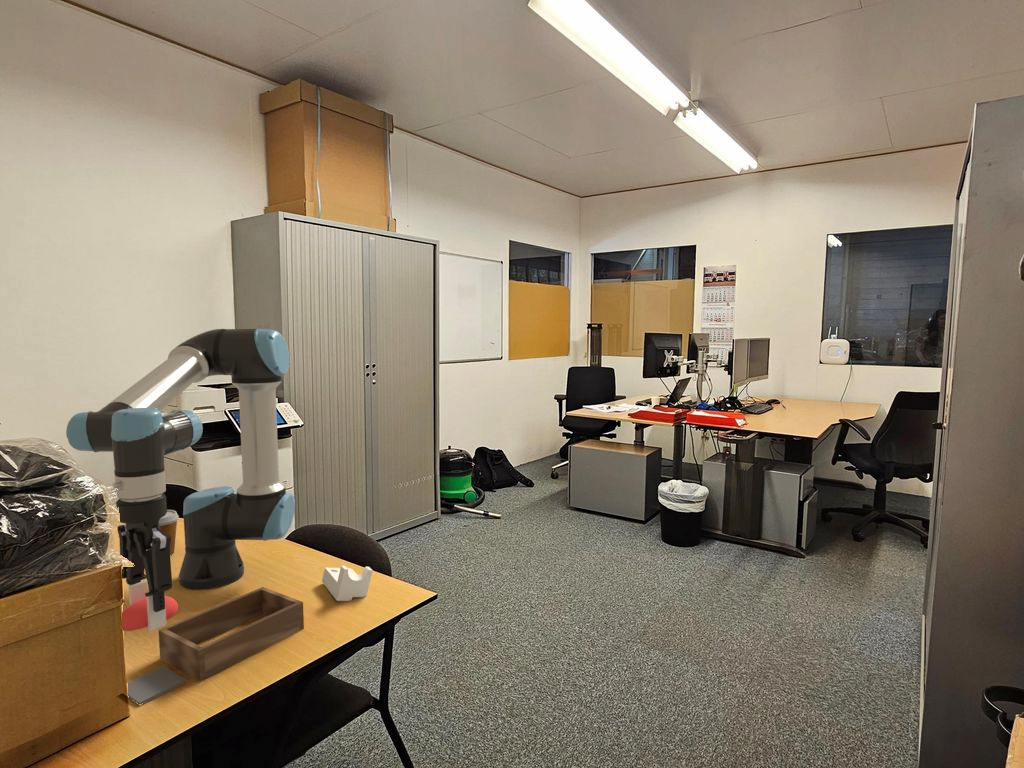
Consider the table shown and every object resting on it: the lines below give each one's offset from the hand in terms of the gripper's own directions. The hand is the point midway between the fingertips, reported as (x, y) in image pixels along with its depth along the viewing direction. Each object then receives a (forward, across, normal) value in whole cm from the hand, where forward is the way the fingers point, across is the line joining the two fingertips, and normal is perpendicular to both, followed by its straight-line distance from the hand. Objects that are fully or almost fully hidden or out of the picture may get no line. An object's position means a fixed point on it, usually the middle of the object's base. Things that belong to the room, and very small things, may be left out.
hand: (148, 622), depth 106 cm
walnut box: (+12, -1, +17) cm, 21 cm away
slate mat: (+12, 0, 0) cm, 12 cm away
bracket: (+13, -1, +47) cm, 49 cm away
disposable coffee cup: (+12, -63, +34) cm, 73 cm away
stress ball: (+1, 0, 0) cm, 1 cm away
